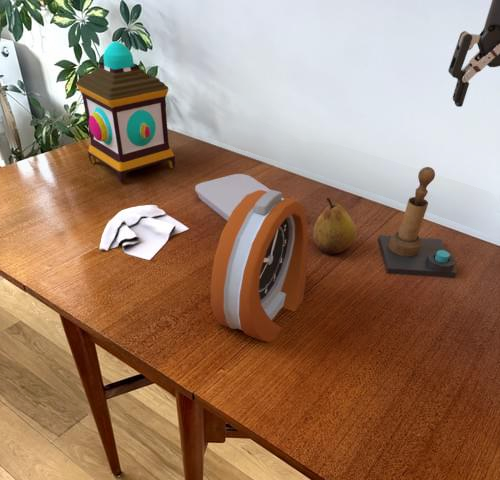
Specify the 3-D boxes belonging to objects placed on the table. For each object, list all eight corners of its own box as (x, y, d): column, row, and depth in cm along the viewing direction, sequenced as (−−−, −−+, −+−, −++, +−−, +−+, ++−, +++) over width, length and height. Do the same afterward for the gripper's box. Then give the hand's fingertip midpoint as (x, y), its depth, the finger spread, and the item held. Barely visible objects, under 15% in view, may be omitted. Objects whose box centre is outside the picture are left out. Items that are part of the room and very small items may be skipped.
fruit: (357, 245, 104) (368, 195, 95) (339, 264, 98) (350, 212, 90) (322, 233, 107) (331, 183, 99) (304, 250, 101) (311, 199, 93)
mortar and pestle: (405, 260, 98) (431, 178, 85) (382, 246, 101) (404, 165, 89) (425, 250, 101) (453, 170, 88) (402, 237, 104) (425, 158, 92)
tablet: (243, 180, 126) (243, 171, 124) (304, 221, 110) (305, 213, 109) (190, 193, 118) (190, 185, 117) (248, 240, 103) (248, 231, 102)
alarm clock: (259, 357, 77) (268, 238, 62) (209, 335, 80) (206, 218, 65) (312, 288, 91) (330, 178, 76) (268, 272, 95) (276, 164, 79)
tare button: (445, 256, 97) (448, 250, 96) (449, 263, 95) (451, 257, 94) (433, 255, 97) (435, 249, 96) (436, 262, 95) (438, 256, 94)
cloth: (156, 201, 115) (155, 192, 113) (204, 241, 102) (203, 232, 101) (76, 224, 106) (74, 215, 104) (117, 271, 93) (115, 261, 91)
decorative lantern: (120, 188, 119) (98, 55, 99) (82, 162, 130) (56, 38, 109) (183, 168, 130) (175, 44, 109) (143, 146, 140) (130, 29, 119)
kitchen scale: (439, 244, 105) (443, 232, 103) (454, 278, 96) (459, 266, 94) (377, 240, 106) (380, 228, 104) (387, 274, 96) (390, 262, 94)
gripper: (482, -11, 64) (446, 112, 76) (586, -8, 64) (535, 116, 75) (467, -18, 70) (435, 98, 81) (563, -15, 69) (518, 101, 81)
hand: (483, 106), depth 78 cm, fingers open, 8 cm apart
